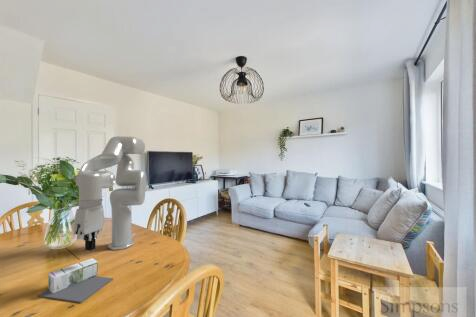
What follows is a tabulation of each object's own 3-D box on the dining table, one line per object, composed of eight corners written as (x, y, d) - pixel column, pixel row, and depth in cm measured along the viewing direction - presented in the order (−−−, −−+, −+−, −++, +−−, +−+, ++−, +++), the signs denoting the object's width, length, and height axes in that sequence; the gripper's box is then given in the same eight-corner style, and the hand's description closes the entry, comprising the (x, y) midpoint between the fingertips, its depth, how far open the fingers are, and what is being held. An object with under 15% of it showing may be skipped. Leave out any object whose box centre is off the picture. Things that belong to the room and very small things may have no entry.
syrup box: (92, 257, 89) (47, 272, 77) (98, 261, 85) (52, 278, 74) (92, 270, 89) (47, 288, 77) (98, 275, 86) (52, 294, 74)
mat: (75, 274, 87) (75, 273, 87) (113, 279, 84) (113, 278, 84) (37, 296, 73) (37, 295, 73) (81, 303, 70) (81, 301, 70)
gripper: (98, 199, 92) (97, 241, 92) (64, 207, 77) (63, 257, 77) (113, 200, 90) (112, 242, 90) (81, 208, 76) (81, 259, 76)
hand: (90, 249), depth 84 cm, fingers closed
